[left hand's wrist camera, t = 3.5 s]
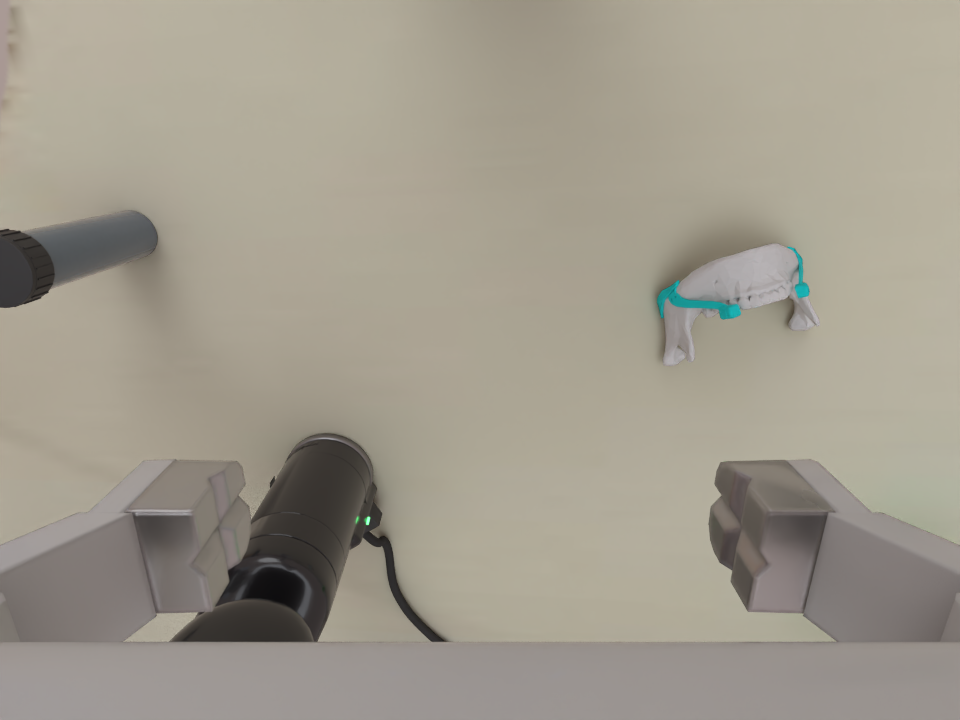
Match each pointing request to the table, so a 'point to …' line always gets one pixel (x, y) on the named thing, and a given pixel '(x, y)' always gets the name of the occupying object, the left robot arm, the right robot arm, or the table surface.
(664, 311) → the anatomical model
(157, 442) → the table surface
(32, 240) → the lid
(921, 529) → the left robot arm
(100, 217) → the jar
